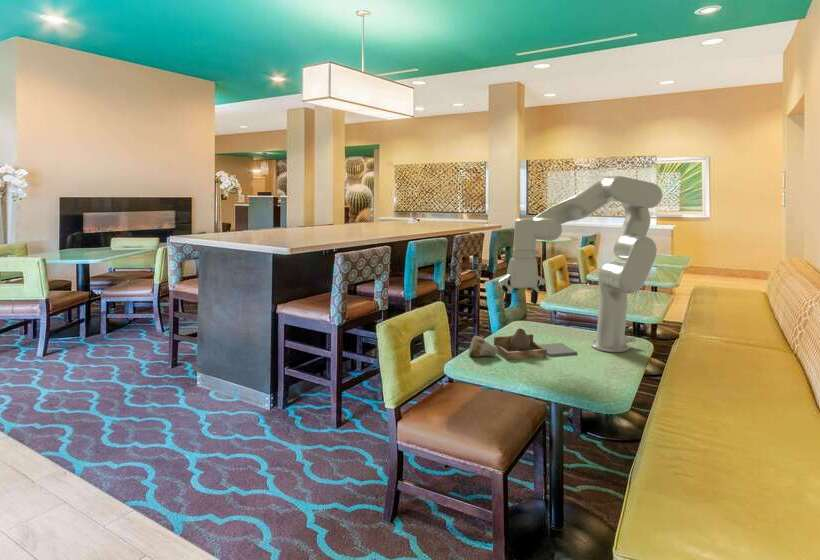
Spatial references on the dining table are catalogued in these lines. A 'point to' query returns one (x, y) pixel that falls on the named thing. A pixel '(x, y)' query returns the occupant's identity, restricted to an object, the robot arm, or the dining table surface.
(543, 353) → the wooden frame
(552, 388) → the dining table surface
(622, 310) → the robot arm
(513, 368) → the dining table surface
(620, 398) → the dining table surface
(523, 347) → the vase
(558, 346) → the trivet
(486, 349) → the mug
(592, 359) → the dining table surface
